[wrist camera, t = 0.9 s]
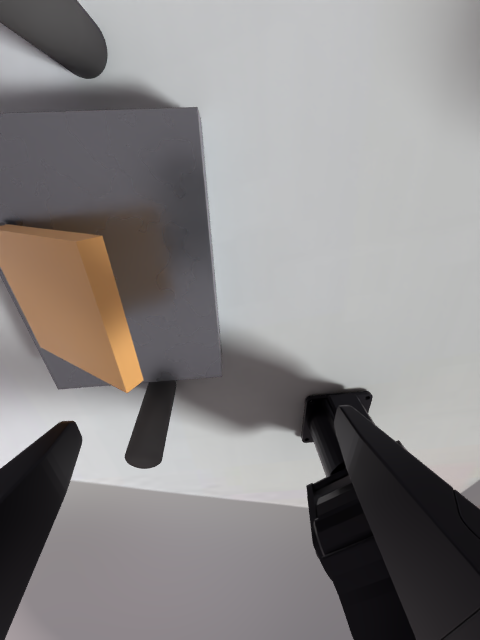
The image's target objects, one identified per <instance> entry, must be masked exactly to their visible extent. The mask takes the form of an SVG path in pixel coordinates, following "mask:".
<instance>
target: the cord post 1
mask: <svg viewBox="0 0 480 640" xmlns="http://www.w3.org/2000/svg"><path fill="white" fill-rule="evenodd" d="M0 22H1V23H2V24H4V25H5V26H6V27H8V28H9V29H11V30H12V31H14V32H15V33H17V34H18V35H19V36H21V37H22V38H24V39H25V40H27V41H28V42H29V43H31V44H32V45H34V46H35V47H37V48H38V49H40V50H41V51H42V52H44V53H45V54H47V55H48V56H50V57H51V58H52V59H54V60H55V61H57V62H58V63H60V64H61V65H63V66H64V67H65V68H67V69H68V70H70V71H71V72H73V73H74V74H76V75H77V76H79V77H82V78H86V79H91V78H95V77H97V76H99V75H100V74H101V73H102V72H103V70H104V68H105V66H106V63H107V47H106V42H105V39H104V37H103V34H102V32H101V31H100V29H99V27H98V26H97V25H96V23H95V22H94V21H93V20H92V18H91V17H90V16H89V15H88V13H87V12H86V11H85V10H84V9H83V7H82V6H81V5H80V4H79V2H78V1H77V0H0Z"/></svg>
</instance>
